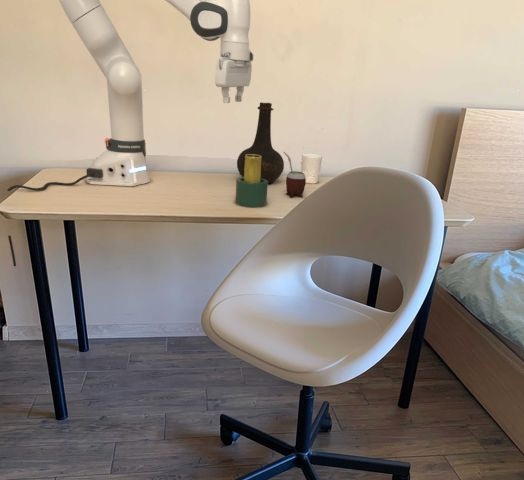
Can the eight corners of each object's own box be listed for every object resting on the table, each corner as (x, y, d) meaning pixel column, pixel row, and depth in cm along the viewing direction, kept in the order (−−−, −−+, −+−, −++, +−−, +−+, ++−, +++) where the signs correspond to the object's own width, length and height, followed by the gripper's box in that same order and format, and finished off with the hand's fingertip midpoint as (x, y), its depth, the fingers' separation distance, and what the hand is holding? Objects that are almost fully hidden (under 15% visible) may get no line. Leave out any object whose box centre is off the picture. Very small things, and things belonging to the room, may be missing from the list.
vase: (244, 203, 166) (246, 157, 159) (239, 198, 171) (241, 153, 164) (262, 203, 167) (265, 157, 160) (257, 198, 173) (260, 154, 165)
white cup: (322, 183, 203) (325, 157, 198) (304, 184, 200) (307, 157, 195) (313, 179, 209) (316, 153, 204) (296, 179, 206) (298, 153, 201)
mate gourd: (307, 195, 184) (311, 151, 176) (298, 199, 178) (303, 154, 170) (288, 192, 187) (292, 148, 179) (279, 196, 180) (283, 151, 173)
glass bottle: (227, 179, 199) (229, 99, 185) (261, 175, 210) (266, 99, 195) (257, 189, 188) (262, 105, 174) (291, 184, 198) (299, 105, 184)
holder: (239, 207, 164) (240, 183, 160) (232, 199, 172) (233, 176, 169) (269, 207, 167) (271, 184, 163) (261, 199, 175) (263, 176, 171)
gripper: (229, 53, 150) (227, 104, 157) (255, 55, 167) (252, 101, 174) (210, 51, 152) (209, 102, 159) (238, 53, 169) (236, 100, 176)
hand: (232, 102), depth 166 cm, fingers open, 8 cm apart
